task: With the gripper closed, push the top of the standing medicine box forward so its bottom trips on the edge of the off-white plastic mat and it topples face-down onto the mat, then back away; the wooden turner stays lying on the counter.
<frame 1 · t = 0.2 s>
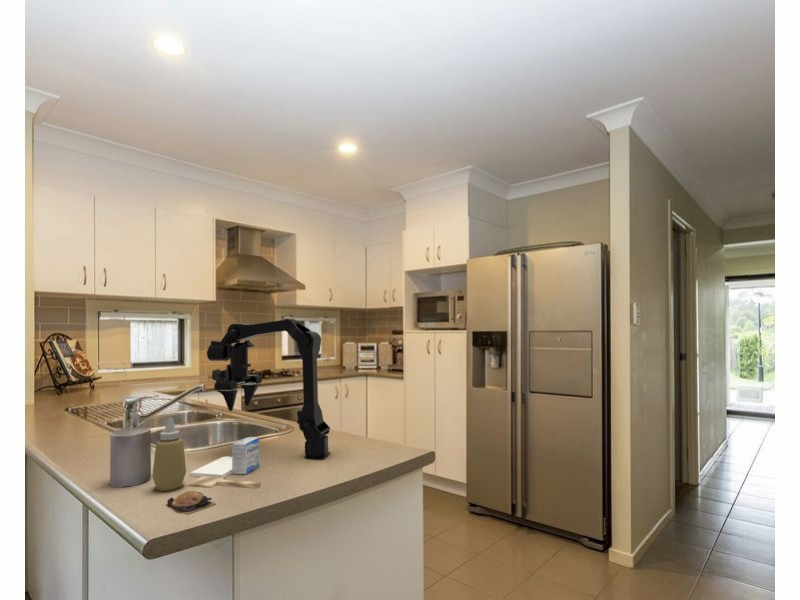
hand: (239, 408, 156), 14 cm above the worktop, tool pointing down, fingers open, 9 cm apart
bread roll: (190, 507, 111), on the worktop
squeeze bottle: (169, 488, 123), on the worktop
mat: (223, 468, 139), on the worktop
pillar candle: (130, 482, 128), on the worktop
medicine box: (245, 471, 137), on the worktop
wooden turner: (228, 484, 125), on the worktop
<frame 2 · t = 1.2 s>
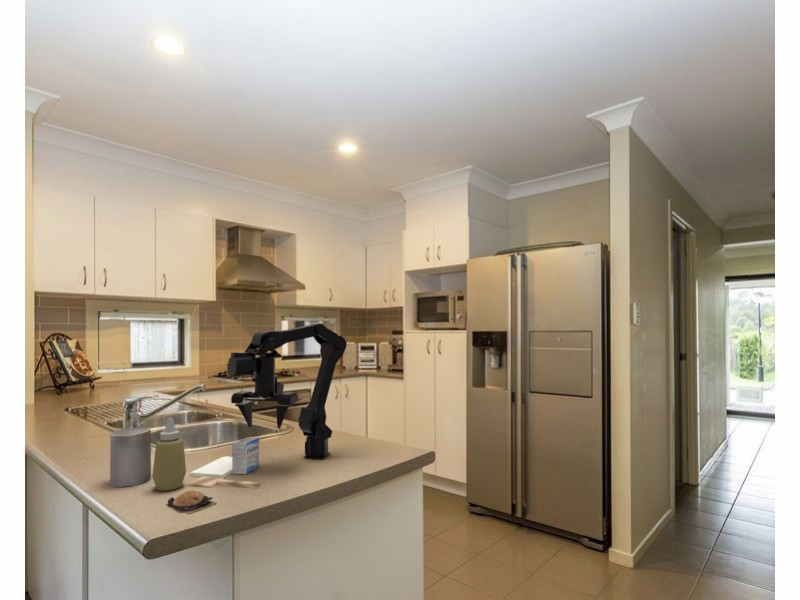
hand: (264, 427, 138), 12 cm above the worktop, tool pointing down, fingers open, 9 cm apart
nothing on the worktop moved.
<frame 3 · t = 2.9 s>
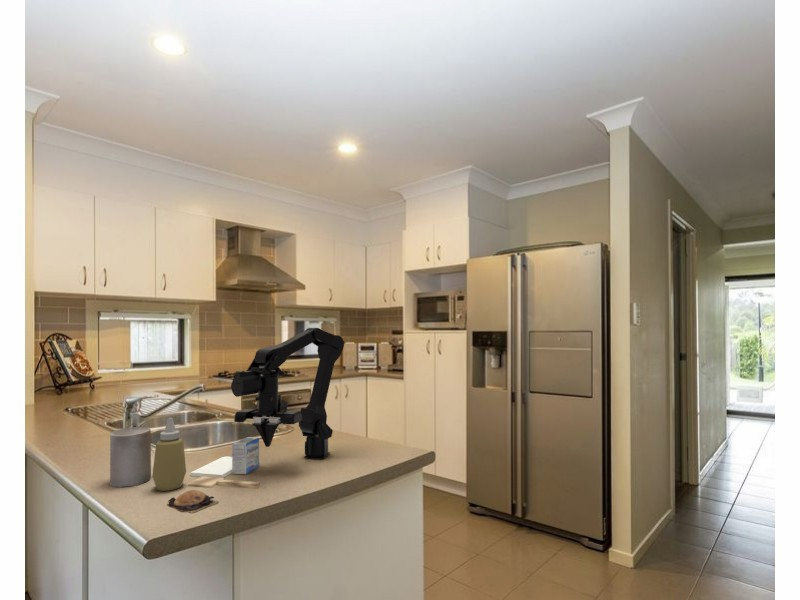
hand: (268, 446, 136), 7 cm above the worktop, tool pointing down, fingers closed
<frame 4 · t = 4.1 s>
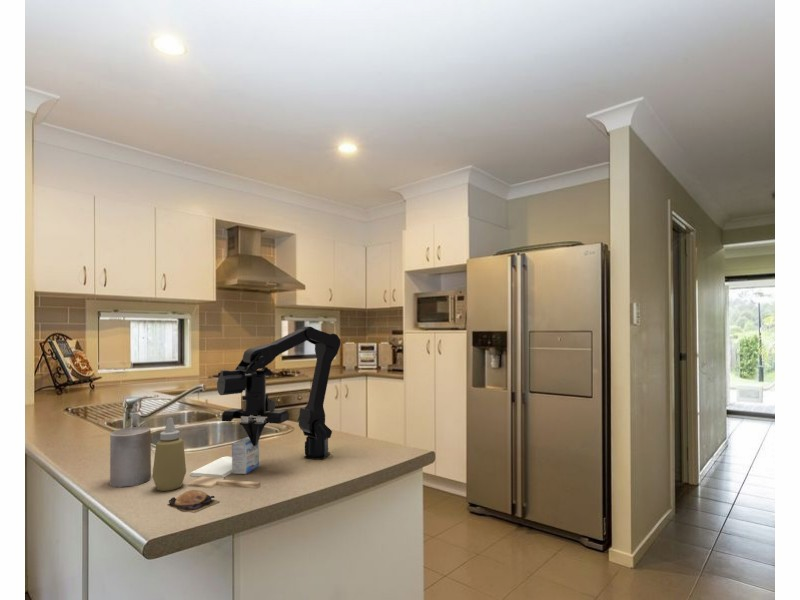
hand: (255, 445, 136), 7 cm above the worktop, tool pointing down, fingers closed
medicine box: (245, 470, 137), on the worktop, touching gripper
everything else where it was.
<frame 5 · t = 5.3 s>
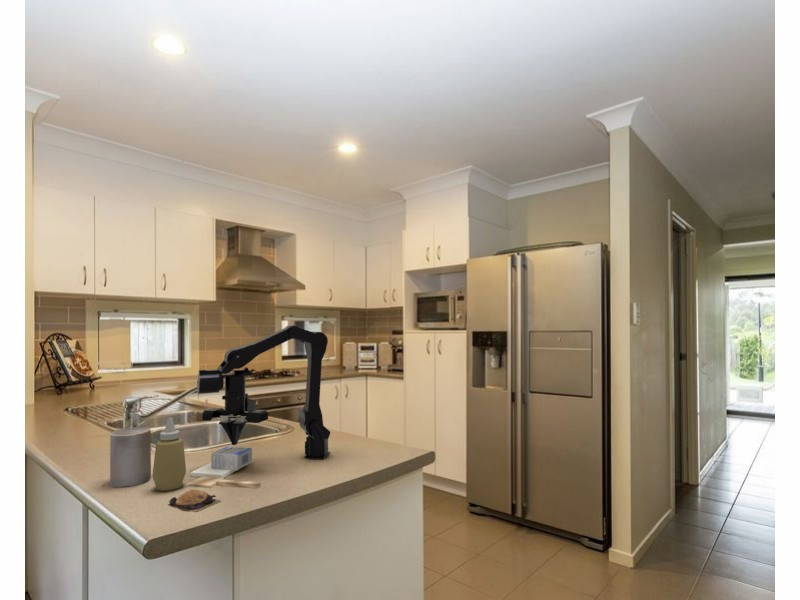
hand: (234, 444, 138), 7 cm above the worktop, tool pointing down, fingers closed
medicine box: (245, 459, 137), point 3 cm above the worktop, touching mat
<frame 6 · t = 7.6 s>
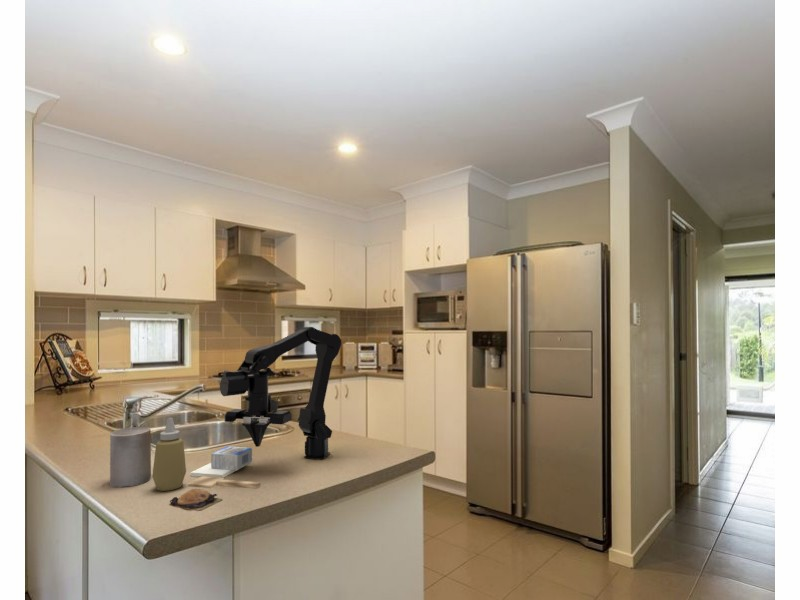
hand: (257, 446, 136), 7 cm above the worktop, tool pointing down, fingers closed
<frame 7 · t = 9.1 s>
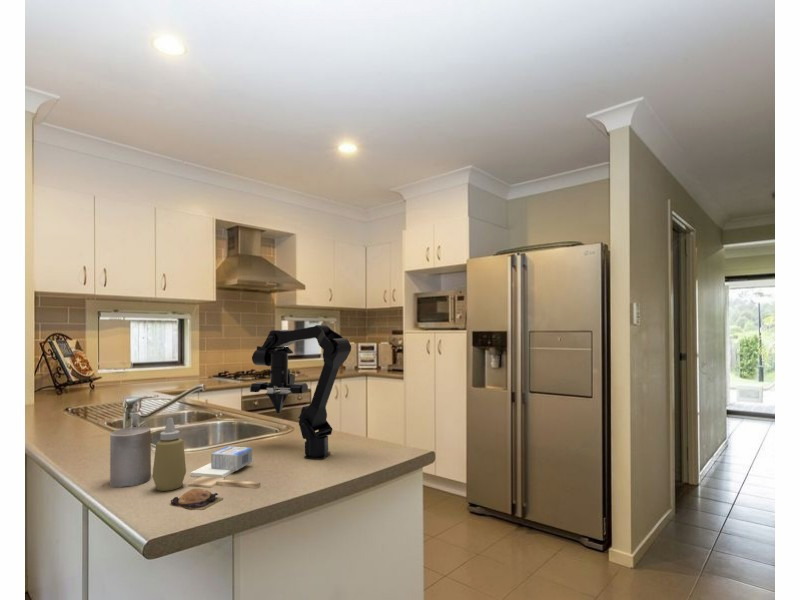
hand: (278, 413, 159), 12 cm above the worktop, tool pointing down, fingers closed
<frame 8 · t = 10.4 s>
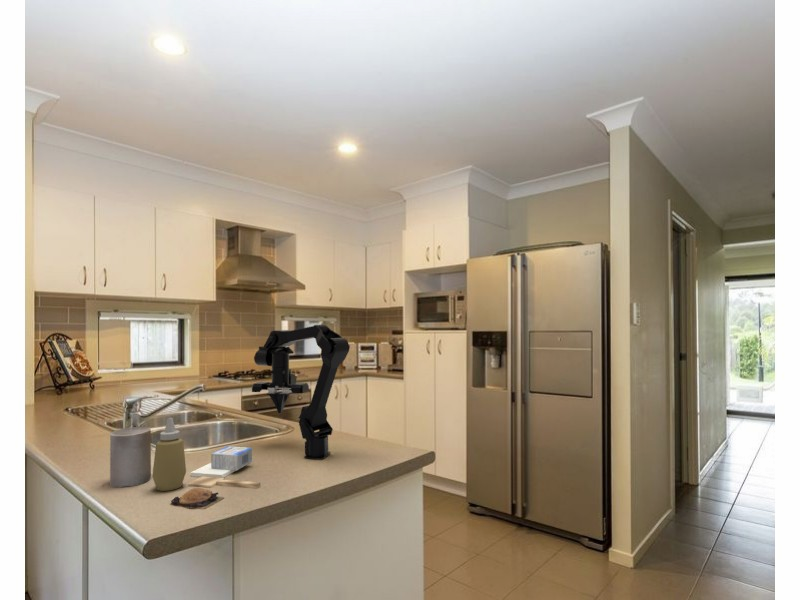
hand: (280, 413, 160), 12 cm above the worktop, tool pointing down, fingers closed
at the end: medicine box tilted 89°; medicine box touching mat; medicine box inside the target area (7.4 cm from its centre), point 3.1 cm above the worktop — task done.
